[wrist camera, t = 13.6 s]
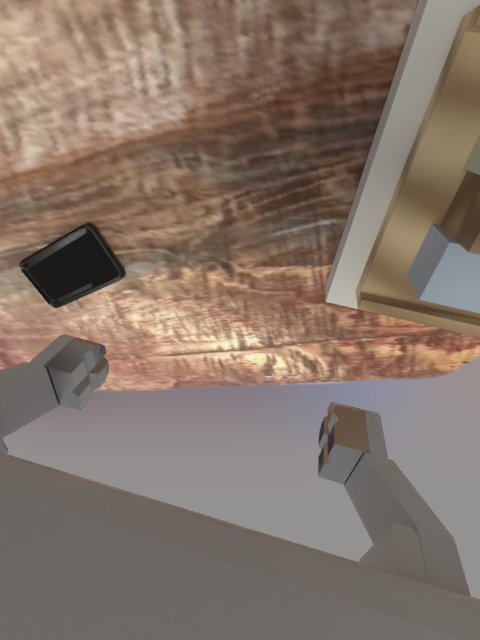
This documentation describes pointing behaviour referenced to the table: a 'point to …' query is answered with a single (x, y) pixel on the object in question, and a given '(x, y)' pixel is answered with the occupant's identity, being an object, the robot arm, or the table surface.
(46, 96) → the table surface
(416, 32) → the block
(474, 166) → the pale green cube
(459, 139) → the tan tray
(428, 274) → the blue-grey cube
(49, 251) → the phone
